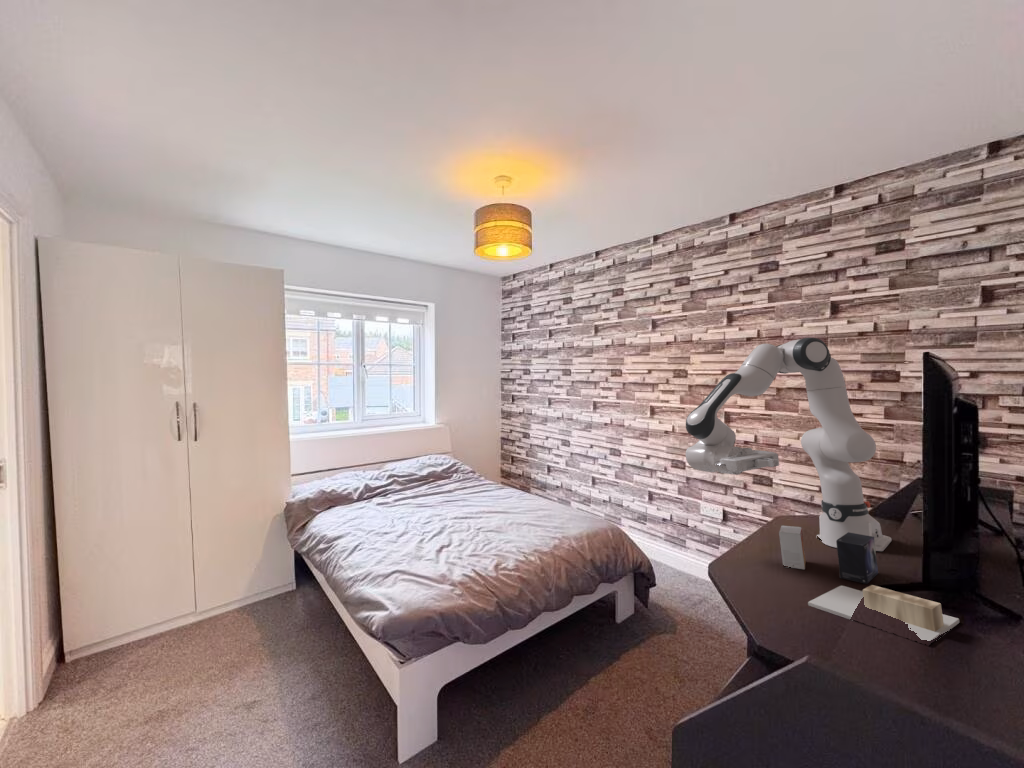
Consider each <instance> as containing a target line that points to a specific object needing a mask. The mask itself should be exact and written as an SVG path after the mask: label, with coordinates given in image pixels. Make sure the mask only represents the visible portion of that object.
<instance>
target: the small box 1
mask: <svg viewBox="0 0 1024 768" xmlns="http://www.w3.org/2000/svg"><path fill="white" fill-rule="evenodd" d="M778 535H779V543H780V552H781V553H780V554H781V560H782V566H783V565H784V566H788V567H787V568H789V567H791V568H790V569H798V570H806V563H807V560H806V552H805V544H804V533H803V527H802V526H793V525H792V526H790V525H780V529H779V531H778Z"/></svg>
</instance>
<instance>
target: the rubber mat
mask: <svg viewBox="0 0 1024 768" xmlns="http://www.w3.org/2000/svg"><path fill="white" fill-rule="evenodd" d="M862 598H863V590H859V589H856V588H852V587H849V586H845V585H839V586H837V587H835V588H833V589H831V590H829V591H827V592H825V593H823V594H821V595H819V596H817V597H815V598H814V599H811V600H809V601H807V605H808V607H812V608H815V609H818V610H821V611H824V612H826V613H830V614H833V615H836V616H839V617H842V618H844V619H847V620H850V619H851V617H852V615H853V613H854V611H855V609H856V608H857V606H858V604H859V603H860V601H861V599H862ZM942 616H943V623H944V626H942V627H941V628H939V629H938V630H937V631H935V632H934V631H931V630H928V629H925V628H921V627H918V626H915V625H912V624H909V623H906V622H905V624H908V628H909V630H911V631H914V632H915V633H917V634H916V635H917V636H918V637H919V638H920V639H921V640H927V641H931V640H933V639H935V638H937V637H938V636H939V635H941V634H943V633H945V632H947V631H948V632H950V631H951V630H952V629H953V628H954V627H956V626H957V625H958V624H959V623H960V618H958V617H954V616H950V615H947V614H945V613H944V614H943V613H942ZM910 628H911V629H910ZM950 629H951V630H950ZM948 632H947V633H948ZM945 634H946V633H945Z"/></svg>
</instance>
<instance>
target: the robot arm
mask: <svg viewBox="0 0 1024 768" xmlns="http://www.w3.org/2000/svg"><path fill="white" fill-rule="evenodd" d="M795 373H800V374H801V375H802V376H803V378H804V381H805V390H806V395H807V402H808V407H809V411H810V412H809V413H810V414H811V415H812V416H813V417H815V418H816V419H817V420H818V422H819V424H820V425H821V426H820V427H817V428H816V427H815V428H812V429H809V430H807V431H805V432H804V433H803V435H802V436H801V438H800V444H801V447H802V449H803V451H804V452H805V453H806V454H807V455H808V456H809V457H810V459H811V461H812V464H813V465H814V468H815V470H816V473H817V474H818V478H819V479H818V480H819V483H820V491H821V498H822V499H821V501H820V502H821V503H820V505H821V510H822V513H821V514H820V515H819V519H818V520H819V533H818V534H816V537H817V536H818V537H819V538H820V539H821V540H822V541H821V540H820V541H821V542H822V543H823V544H825V545H826V546H829V547H832V548H836V549H837V543H836V540H838V539H839V538H841V537H842V536H844V535H845V534H846V533H848V532H850V533H855V534H861V535H866V536H872V537H874V542H875V550H876V552H884V550H885V549H886V548H887V547H888V546H889V545H890V543H891V542H892V541H893V540H892V537H890V536H887V535H883V533H882V527H881V523H880V522H879V521H878V520H877V519H875V518H874V517H873V516H871V515H870V514H869V513H870V512H869V510H868V508H870V507H871V502H870V501H867V500H866V501H865V500H864V493H863V492H864V491H863V485H862V480H861V478H860V476H858V474H857V473H856V472H854V470H853V469H852V468H851V466H850V463H852V464H853V463H862V462H867V461H869V460H871V459H872V458H873V457H874V456H875V454H876V450H877V444H876V441H875V440H874V438H873V437H872V435H870V434H869V433H867V432H866V431H865V430H864V429H863V428H862V427H861V425H860V424H859V422H858V421H857V419H856V418H855V415H854V413H853V411H852V409H851V405H850V401H849V400H850V399H849V397H848V391H847V387H846V382H845V378H844V377H845V376H844V374H843V372H842V368H841V365H840V364H839V361H838V360H837V359H835V358H834V357H832V355H831V353H830V349H829V347H828V346H827V344H826V343H825V342H824V341H823V340H822V339H821V338H820V339H819V338H817V337H803V338H799V339H792V340H790V341H788V342H785V343H783V344H778V345H774V344H771V343H761V344H758V345H757V346H756V347H754V349H753V350H752V351H751V352H750V353H749V354H748V355H747V356H746V358H745V359H744V361H743V362H742V363H741V365H740V366H739V368H738V370H736V371H735V372H731V373H729V374H727V375H726V376H724V377H723V378H722V379H721V380H720V381H719V382H718V383H717V385H715V387H713V389H712V391H710V392H709V393H708V395H707V396H706V397H705V398H704V400H703V401H702V402H701V403H700V404H699V405H698V406H696V408H694V409H693V410H692V411H691V412H689V414H688V415H687V416H686V419H685V430H686V432H687V434H689V435H691V436H692V437H694V438H695V439H697V440H698V441H697V442H696V443H695V444H693V445H692V446H688V447H687V448H686V451H685V459H686V462H687V464H688V465H689V466H690V467H691V468H692V469H694V470H697V471H701V472H708V473H717V472H718V473H720V474H726V475H734V476H736V475H737V476H738V475H740V474H742V473H744V472H748V471H752V470H757V469H761V468H762V469H763V468H767V467H768V468H774V467H778V466H780V460H779V459H780V458H779V454H778V453H777V452H774V451H766V450H759V449H758V450H757V449H753V448H752V447H739V446H735V443H736V440H737V439H736V438H737V436H736V433H735V431H734V430H733V429H732V428H731V427H729V426H728V425H727V424H726V423H725V422H724V421H722V420H721V419H720V418H718V413H719V411H720V410H721V409H722V407H723V406H724V405H725V403H727V401H728V400H729V399H730V398H731V397H732V396H734V395H737V394H738V395H742V396H744V397H745V396H746V397H758V396H761V395H763V394H764V393H765V392H767V390H769V388H770V387H771V385H772V383H773V381H774V380H775V378H776V377H777V374H795Z"/></svg>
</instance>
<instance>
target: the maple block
mask: <svg viewBox="0 0 1024 768" xmlns="http://www.w3.org/2000/svg"><path fill="white" fill-rule="evenodd" d="M862 591H863V597H864V605H865V607H867V608H869V609H872V610H876V611H878V612H881V613H883V614H886V615H888V616H891V617H893V618H896V619H899V620H901V621H903V622H906V623H909V624H912V625H915V626H918V627H921V628H925V629H928V630H931V631H934V632H935V631H937V630H938V629H939V628H941V627H942V626H944V623H943V616H942V614H943V610H942V604H941V603H940V602H937V601H933V600H929V599H925V598H921V597H920V596H919V597H918V596H916V595H911V594H908V593H904V592H900V591H895V590H892V589H889V588H886V587H881V586H878V585H874V584H870V585H869V586H866V587H865V588H863V589H862Z"/></svg>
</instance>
